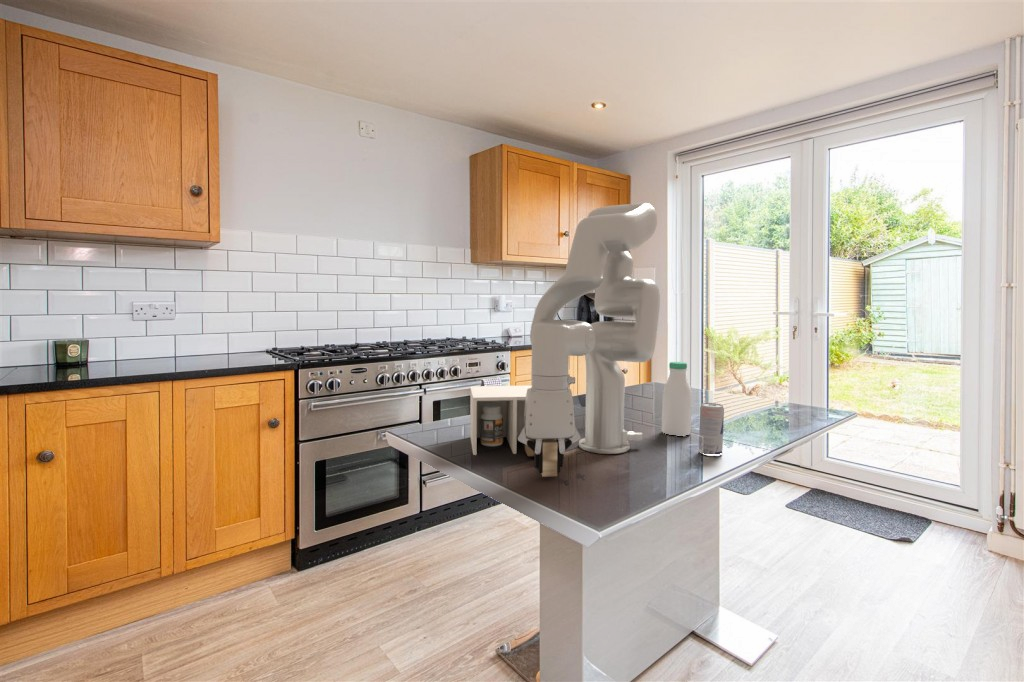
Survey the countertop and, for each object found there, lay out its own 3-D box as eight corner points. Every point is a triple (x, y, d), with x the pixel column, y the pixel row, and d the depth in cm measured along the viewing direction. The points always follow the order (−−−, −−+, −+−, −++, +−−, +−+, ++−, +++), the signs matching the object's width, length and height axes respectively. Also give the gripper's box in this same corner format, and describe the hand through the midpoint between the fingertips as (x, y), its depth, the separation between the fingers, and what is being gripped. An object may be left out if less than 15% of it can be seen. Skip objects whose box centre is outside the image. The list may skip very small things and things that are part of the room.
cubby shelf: (543, 435, 141) (544, 385, 140) (555, 452, 125) (556, 396, 124) (470, 437, 138) (470, 386, 137) (473, 454, 123) (473, 397, 122)
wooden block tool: (545, 449, 124) (545, 420, 124) (561, 475, 105) (562, 442, 105) (524, 450, 124) (525, 421, 123) (537, 476, 105) (538, 442, 104)
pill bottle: (500, 447, 129) (500, 408, 128) (478, 446, 130) (478, 407, 129) (505, 441, 134) (505, 404, 134) (483, 440, 135) (483, 403, 135)
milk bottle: (694, 437, 139) (697, 364, 138) (665, 437, 140) (668, 364, 138) (685, 430, 147) (687, 360, 146) (658, 430, 147) (660, 360, 146)
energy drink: (722, 452, 126) (724, 403, 125) (721, 458, 121) (723, 408, 120) (699, 449, 128) (701, 402, 127) (697, 455, 123) (699, 406, 122)
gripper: (584, 379, 110) (582, 464, 111) (507, 380, 108) (507, 466, 109) (593, 385, 102) (592, 476, 104) (511, 386, 100) (511, 478, 102)
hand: (548, 470), depth 106 cm, fingers closed on wooden block tool, 3 cm apart
